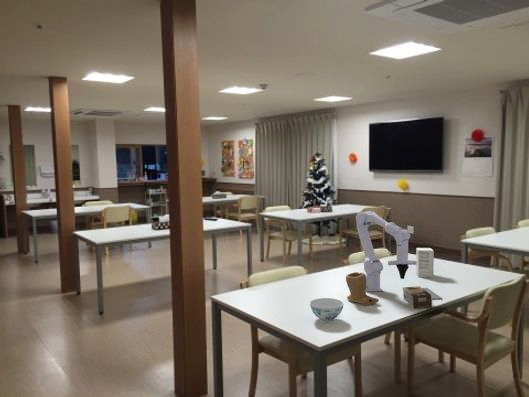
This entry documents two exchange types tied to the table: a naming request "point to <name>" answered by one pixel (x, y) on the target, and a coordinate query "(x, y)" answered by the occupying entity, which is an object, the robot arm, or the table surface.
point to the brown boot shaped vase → (359, 289)
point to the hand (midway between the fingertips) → (402, 278)
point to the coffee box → (417, 297)
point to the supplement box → (425, 262)
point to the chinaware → (326, 308)
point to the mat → (432, 294)
